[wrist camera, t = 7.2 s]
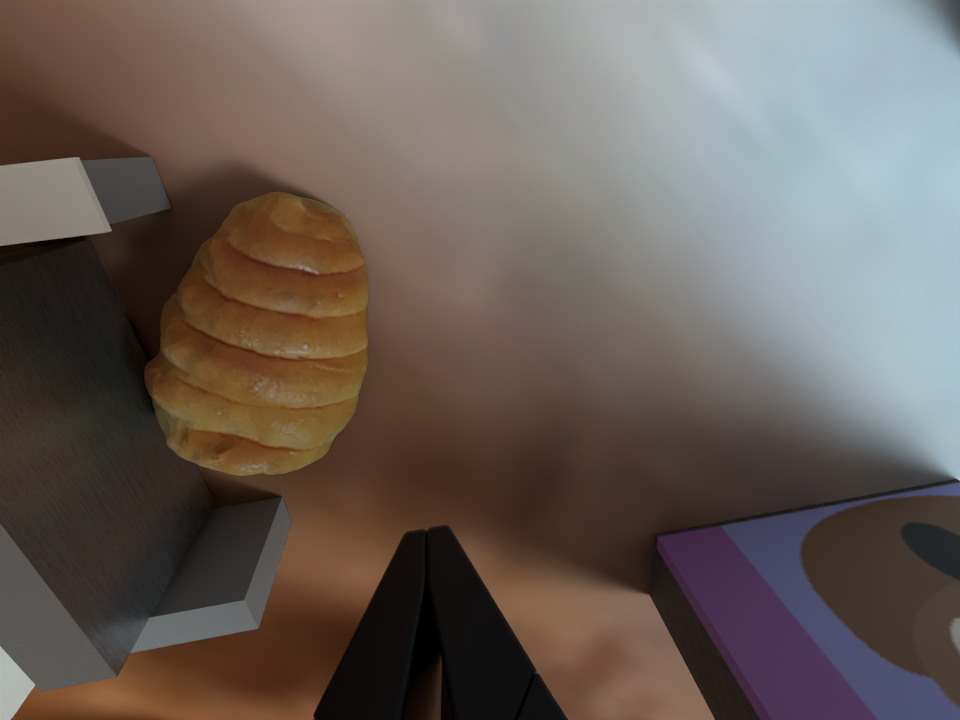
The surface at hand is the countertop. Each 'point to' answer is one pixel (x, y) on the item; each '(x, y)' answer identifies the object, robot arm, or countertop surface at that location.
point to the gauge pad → (81, 472)
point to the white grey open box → (225, 530)
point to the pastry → (264, 340)
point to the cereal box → (821, 608)
